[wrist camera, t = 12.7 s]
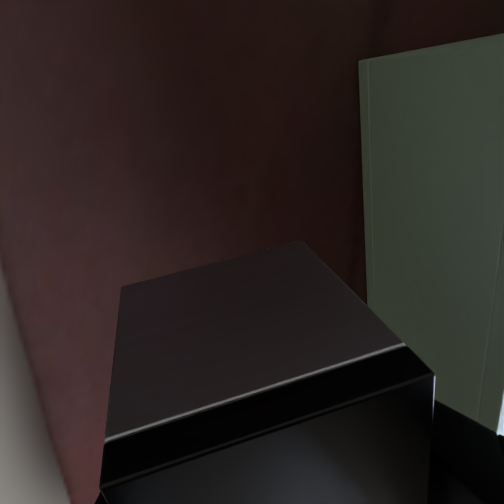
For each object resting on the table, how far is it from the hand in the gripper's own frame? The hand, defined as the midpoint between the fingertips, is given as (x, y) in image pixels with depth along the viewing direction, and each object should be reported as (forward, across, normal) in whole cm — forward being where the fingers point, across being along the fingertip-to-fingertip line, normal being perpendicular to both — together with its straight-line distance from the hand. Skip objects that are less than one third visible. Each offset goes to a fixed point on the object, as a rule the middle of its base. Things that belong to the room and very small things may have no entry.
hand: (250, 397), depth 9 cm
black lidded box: (+1, 0, 0) cm, 1 cm away
